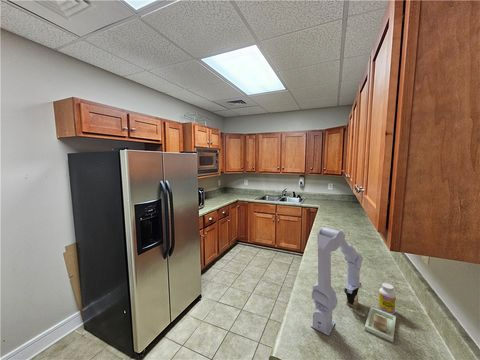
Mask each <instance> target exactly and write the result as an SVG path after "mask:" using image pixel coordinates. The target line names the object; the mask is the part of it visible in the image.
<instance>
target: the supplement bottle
mask: <svg viewBox="0 0 480 360" xmlns="http://www.w3.org/2000/svg"><path fill="white" fill-rule="evenodd" d="M378 291H379V292H378V294H379V295H378V310H381V311H383V312H386V313H389V314H391V315H394V314H395V313H396V312H395V311H396V299H397V297H396V296H397V295H396V293H395V291H394V286H393V285H392V284H391V283H387V282H384V283H382V284H381V287H380V288H379V289H378Z"/></svg>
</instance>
